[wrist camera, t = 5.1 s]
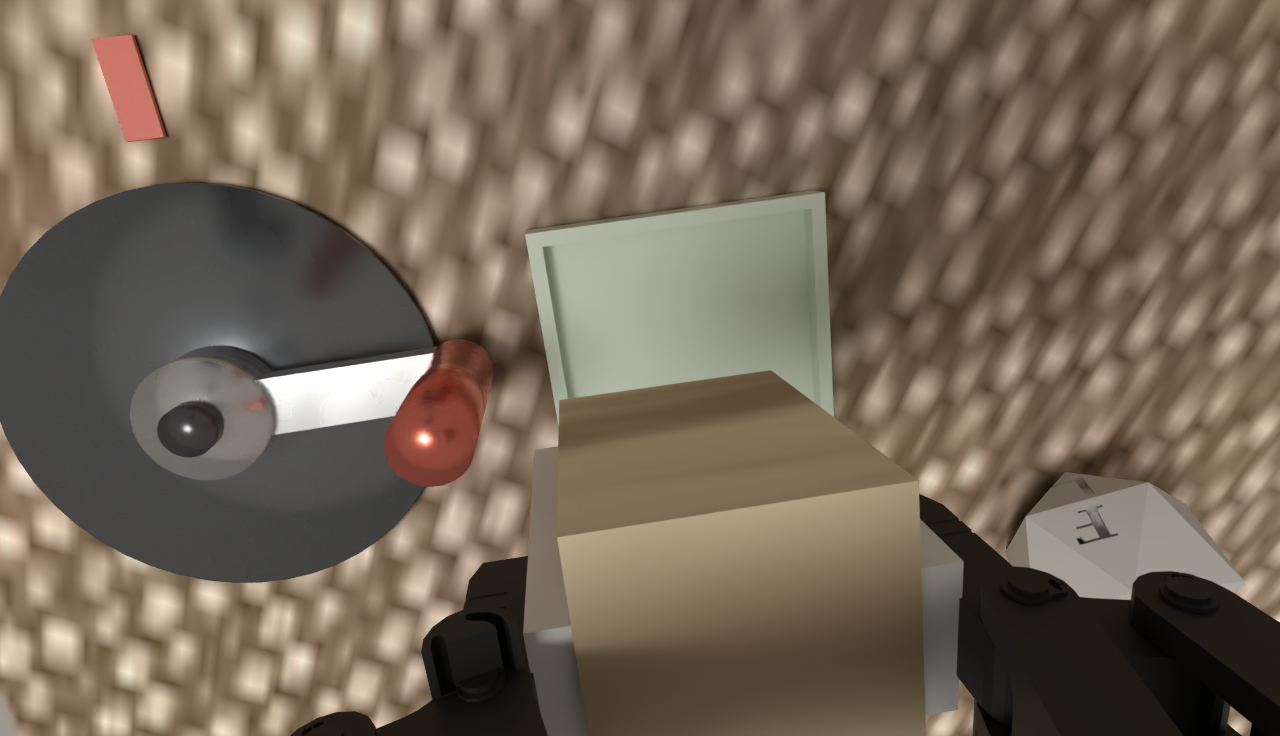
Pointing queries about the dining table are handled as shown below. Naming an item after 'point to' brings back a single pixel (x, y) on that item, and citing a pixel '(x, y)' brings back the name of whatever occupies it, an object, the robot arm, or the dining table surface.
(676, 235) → the tray
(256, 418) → the crank
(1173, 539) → the die
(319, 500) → the base plate
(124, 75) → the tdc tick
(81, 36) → the dining table surface
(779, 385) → the block
